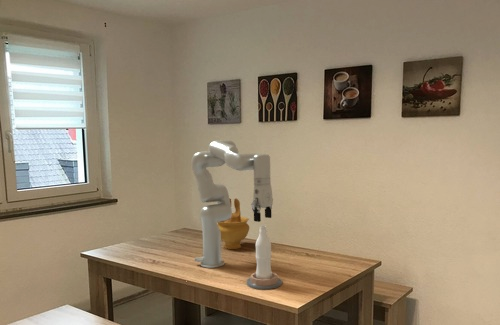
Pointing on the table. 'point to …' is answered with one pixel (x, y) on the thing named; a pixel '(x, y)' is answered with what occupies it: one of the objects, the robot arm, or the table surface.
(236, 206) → the decorative bowl
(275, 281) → the ring plate
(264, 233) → the water bottle
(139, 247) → the table surface
